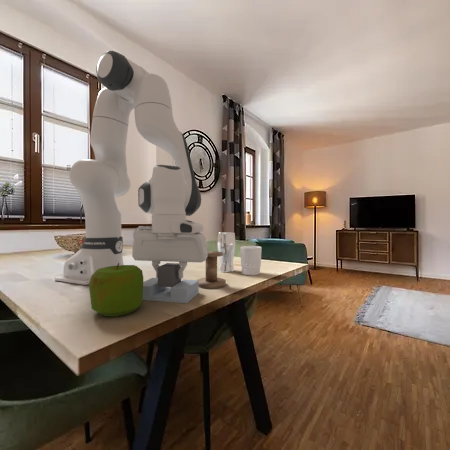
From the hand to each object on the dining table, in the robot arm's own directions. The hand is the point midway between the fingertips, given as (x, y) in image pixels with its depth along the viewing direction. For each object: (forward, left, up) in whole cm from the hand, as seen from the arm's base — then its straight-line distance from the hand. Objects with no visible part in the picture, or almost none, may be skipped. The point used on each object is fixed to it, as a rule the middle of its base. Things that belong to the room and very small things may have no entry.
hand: (169, 278), depth 70 cm
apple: (-6, -13, -5) cm, 16 cm away
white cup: (+18, +33, -5) cm, 37 cm away
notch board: (0, 0, -5) cm, 5 cm away
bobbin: (+8, +14, -5) cm, 16 cm away
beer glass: (+8, +36, -5) cm, 37 cm away
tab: (0, 0, -2) cm, 2 cm away
